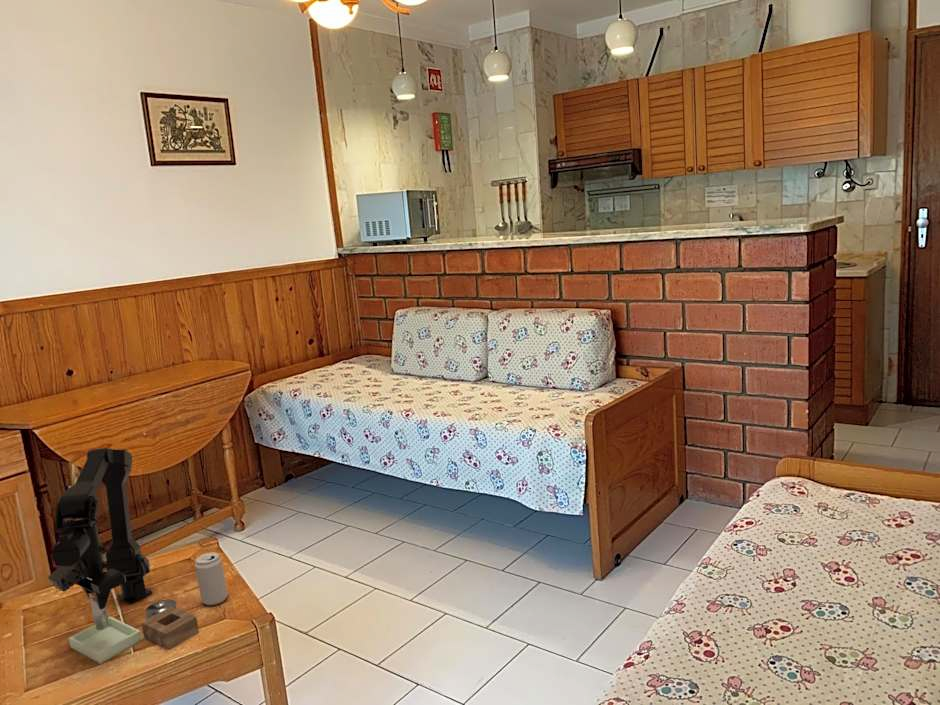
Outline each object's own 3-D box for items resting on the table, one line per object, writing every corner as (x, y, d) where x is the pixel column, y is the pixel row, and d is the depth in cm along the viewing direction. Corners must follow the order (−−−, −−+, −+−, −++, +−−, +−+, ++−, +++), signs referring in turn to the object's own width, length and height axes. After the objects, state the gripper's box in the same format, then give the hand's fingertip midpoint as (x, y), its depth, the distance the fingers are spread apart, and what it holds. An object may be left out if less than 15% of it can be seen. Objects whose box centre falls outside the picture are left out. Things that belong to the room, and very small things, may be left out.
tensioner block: (144, 637, 176) (141, 622, 175) (174, 620, 182) (171, 605, 182) (168, 649, 170) (165, 634, 170) (198, 631, 177) (196, 616, 176)
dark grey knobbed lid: (141, 618, 185) (139, 607, 184) (167, 605, 190) (165, 593, 189) (157, 626, 181) (155, 614, 180) (183, 612, 186) (181, 600, 185)
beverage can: (219, 607, 187) (212, 563, 184) (196, 606, 188) (189, 563, 186) (232, 594, 193) (225, 551, 190) (210, 593, 194) (202, 551, 192)
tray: (70, 647, 175) (68, 638, 174) (112, 625, 183) (110, 616, 182) (100, 664, 167) (98, 654, 167) (142, 640, 175) (140, 630, 175)
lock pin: (93, 627, 174) (86, 592, 172) (105, 621, 176) (98, 587, 174) (100, 631, 172) (92, 595, 170) (111, 625, 174) (104, 590, 172)
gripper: (29, 551, 169) (44, 613, 172) (71, 570, 158) (85, 636, 161) (78, 531, 178) (91, 591, 181) (120, 547, 167) (133, 610, 170)
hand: (98, 607), depth 173 cm, fingers closed on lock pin, 3 cm apart
